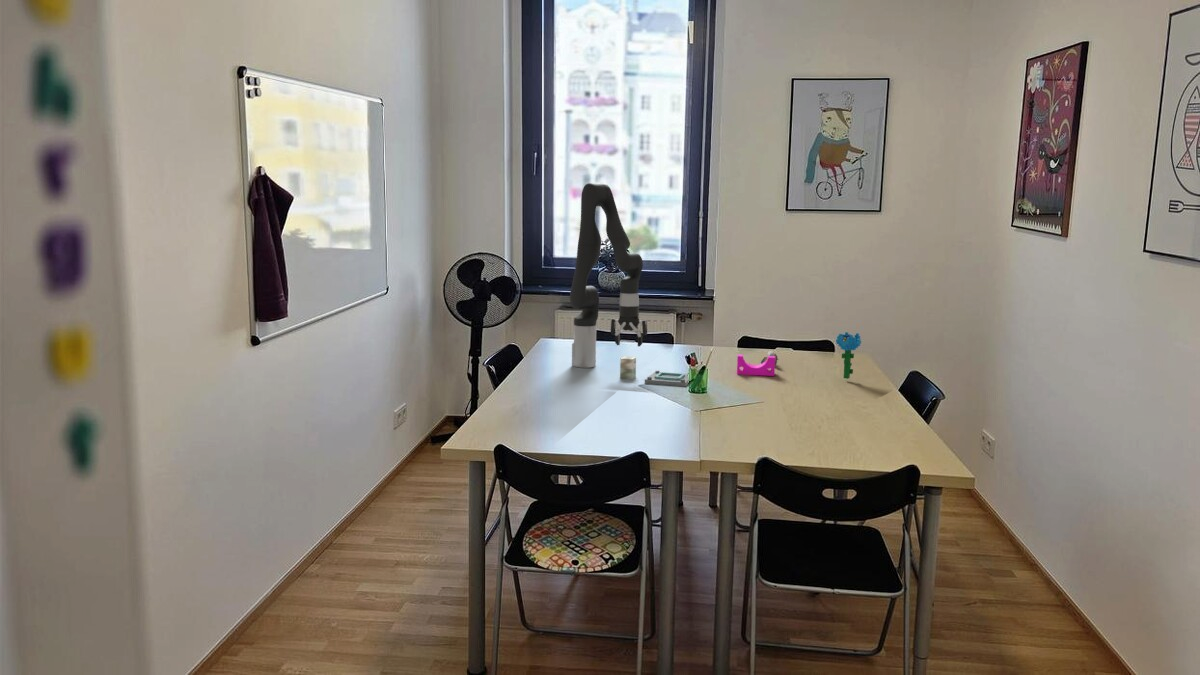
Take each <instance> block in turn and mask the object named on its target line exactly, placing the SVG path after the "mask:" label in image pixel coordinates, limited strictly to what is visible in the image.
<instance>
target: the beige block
mask: <svg viewBox="0 0 1200 675" xmlns="http://www.w3.org/2000/svg"><path fill="white" fill-rule="evenodd" d="M619 363H620V364H619V365H620V366H619V370H620V371H619V378H620V379H624V380H626V379H627V380H628V379H629V380H634V379H635V378H636V377H637V376H636V375H637V374H636V373H637V357H636V356H625V355H624V356H622V357H621V358H620V361H619Z"/></svg>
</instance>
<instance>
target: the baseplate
mask: <svg viewBox="0 0 1200 675" xmlns="http://www.w3.org/2000/svg"><path fill="white" fill-rule="evenodd" d="M689 373H690V372H687V373H680V372H667V371H665V372H664V371H663V372H662V371H661V372H660V370H655V371H654V372H653V373H651V374H650V375H648V376H647V377H646V378H645V379H644V384H646V385H647V384H649V385H661V386H673V387H675V386H676V387H687V386H688V385H689V384H688V381H689V380H688V374H689Z"/></svg>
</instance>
